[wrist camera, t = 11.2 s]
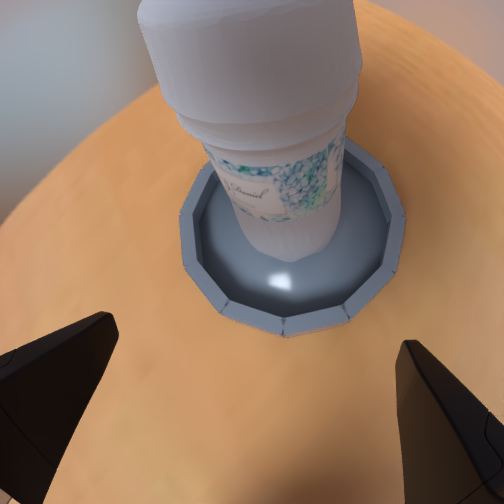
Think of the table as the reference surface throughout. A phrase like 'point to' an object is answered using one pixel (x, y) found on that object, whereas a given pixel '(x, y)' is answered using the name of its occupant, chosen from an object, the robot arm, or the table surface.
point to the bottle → (264, 105)
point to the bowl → (304, 270)
